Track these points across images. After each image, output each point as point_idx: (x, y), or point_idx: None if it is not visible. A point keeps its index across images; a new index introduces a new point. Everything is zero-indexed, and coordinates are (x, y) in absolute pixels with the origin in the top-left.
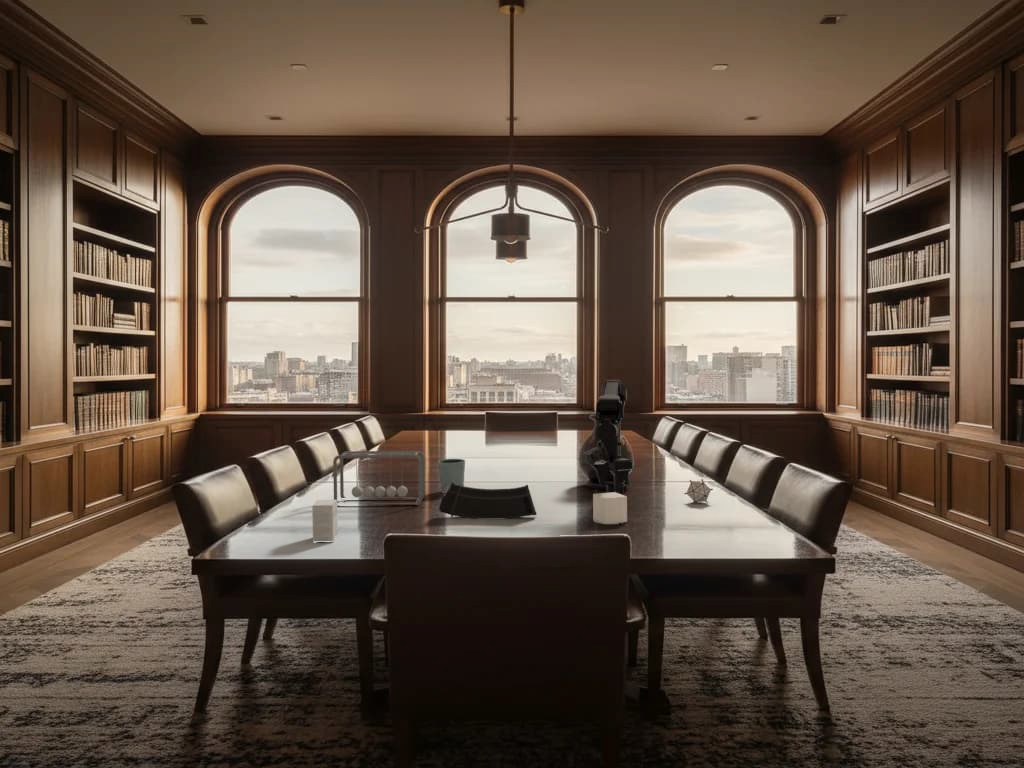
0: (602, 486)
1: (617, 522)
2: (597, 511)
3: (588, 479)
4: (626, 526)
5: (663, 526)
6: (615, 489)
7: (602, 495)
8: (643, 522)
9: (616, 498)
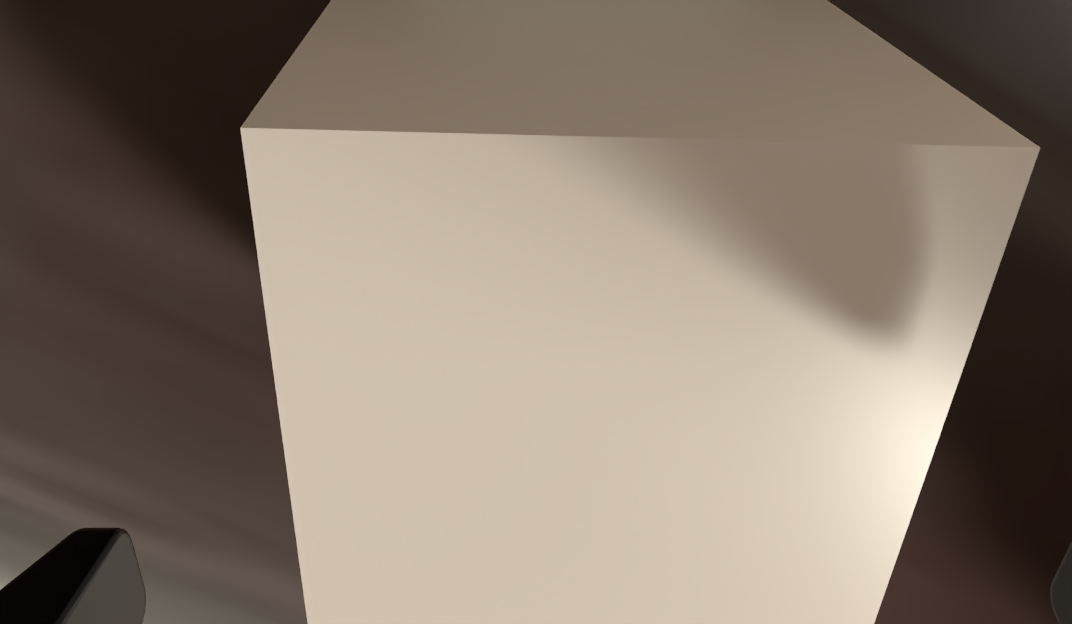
0: (1065, 563)
1: None
2: (669, 18)
3: None
4: (115, 211)
5: None
6: (21, 574)
7: (692, 282)
8: (283, 499)
9: (293, 442)
